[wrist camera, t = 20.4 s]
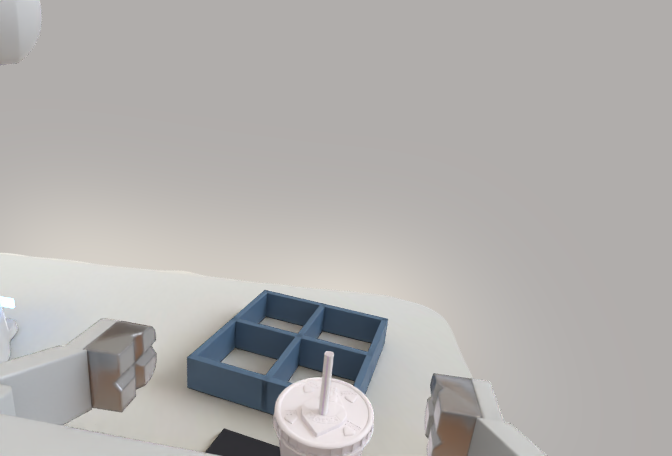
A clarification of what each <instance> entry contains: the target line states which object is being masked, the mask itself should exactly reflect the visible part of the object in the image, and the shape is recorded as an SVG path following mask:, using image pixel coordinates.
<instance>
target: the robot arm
mask: <svg viewBox="0 0 672 456" xmlns="http://www.w3.org/2000/svg"><path fill="white" fill-rule="evenodd" d="M41 25H42V11H41V5H40V0H0V65H6V64H17V63H19V62H20V61H22V60H23V59H24V58H25V57H26V56H27V55H28V54H29V53H30V52H31V50H32V49H33V48H34V46H35V44H36V42H37V40H38V37H39V34H40V30H41ZM2 307H8V308H14V307H15V303H14V299H13V298H7V297H1V296H0V456H220V455H215V454H209V453H204V452H199V451H194V450H188V449H183V448H178V447H173V446H167V445H162V444H157V443H152V442H146V441H141V440H136V439H131V438H126V437H120V436H115V435H110V434H105V433H99V432H94V431H89V430H84V429H78V428H73V427H68V426H63V425H64V424H66V423H68V422H70V421H71V420H73V419H75V418H77V417H79V416H81V415H82V414H84V413H86V412H88V411H90V410H92V408H97V409H103V410H110V411H116V412H123V410H124V409H125V408H126V407H127V406H128V405H129V404H130V402H131V401H132V400H133V399H134V398H135V397H136V389H138V388H141V387H143V386H145V385H146V384H147V383H148V381H149V380H150V379H151V377H152V375H153V372H154V370H155V367H156V361H157V357H156V352H155V350H154V349H153V347H152V346H151V345H152V344H153V343H154V342H155V341H156V333H155V329H154V328H153V327H152V326H147V325H141V324H136V323H131V322H125V321H119V320H114V319H108V318H104V319H100V320H99V321H97V322H96V323H95V324H93V325H92V326H91V327H89V328H88V329H87V330H85V331H84V332H83V333H81V334H80V335H79V336H77V337H76V338H75V339H73V340H72V341H71V342H69V343H68V344H67V345H65V346H56V347H52V348H49V349H46V350H42V351H39V352H35V353H32V354H29V355H25V356H22V357H19V358H15V359H12V360H9V358H10V354H11V349H10V340H11V339H12V338H13V336H14V335H15V334H16V332H17V330H18V327H17V324H16V321H15V320H13V319H8V318H5V315H4V311H3V308H2ZM8 360H9V361H8ZM430 388H431V397H430V398H429V399H427V405H426V411H425V436H426V437H427V438H428V444H427V456H548V455H546V454H545V453H544V452H543V451H542V450H541V449H539V448H538V447H537V446H536V445H535V444H534V443H533V442H531V441H530V440H529V439H528V438H527V437H525V436H524V435H523V434H522V433H521V432H520V431H519V430H518V429H516V428H515V427H514V426H513V425H512V424H511V423H507V422H505V421H504V419H503V416H502V413H501V410H500V407H499V404H498V402H497V399H496V396H495V393H494V391H493V388H492V385H491V383H490V382H489V381H486V380H479V379H471V378H470V379H469V378H462V377H455V376H449V375H442V374H435V373H433V376H432V380H431V384H430Z"/></svg>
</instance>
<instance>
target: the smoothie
mask: <svg viewBox="0 0 672 456" xmlns="http://www.w3.org/2000/svg"><path fill="white" fill-rule="evenodd" d="M333 357H334V353H333V352H331V351H326V352H325V353H324V363H323V373H322V377H314V378H307V379H303V380H300V381H297V382H295V383H293V384H291V385H289V386H288V387H287V388H285V389H284V390H283V391H282V392H281V394H280V395H279V397H278V398H277V401H276V404H275V412H274V416H273V425H274V430H275V432H276V434H277V436H278V438H279V444H280V455H281V456H361V453H362V450H363V448H364V447H365V446H366V445H367V443H368V442H369V441H370V439H371V436H372V433H373V421H374V411H373V407H372V405H371V403H370V401H369V399H368V398H367V397H366V396H365V395H364V393H362V392H361V391H360V390H359V389H358V388H356V387H354V386H353V385H351V384H349V383H347V382H344V381H342V380H338V379H334V378H331V376H332V367H333Z"/></svg>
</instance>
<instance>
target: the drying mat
mask: <svg viewBox="0 0 672 456" xmlns="http://www.w3.org/2000/svg"><path fill="white" fill-rule="evenodd" d="M205 453H209V454H215V455H220V456H281V455H280V447H278V446H275V445H272V444H269V443H266V442H263V441H260V440H257V439H254V438H251V437H248V436H245V435H242V434H239V433H236V432H233V431H230V430H227V429H223V430H222V432H221V433H220V434H219V435H218V437H217V438H216V439H215V441H214V442H213V443H212V444H211V446H210V447H209V448H208V450H207V451H206V452H205Z"/></svg>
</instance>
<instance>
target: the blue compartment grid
mask: <svg viewBox="0 0 672 456" xmlns="http://www.w3.org/2000/svg"><path fill="white" fill-rule="evenodd" d="M265 317H270V318H274V319H278V320H282V321H286V322H290V323H294V324H298V325H302V326H303V328H302V329H301V330H300V332H299V333H298V334H297V333H293V332H289V331H285V330H281V329H278V328H274V327H270V326H266V325H262V324H259V323H260V322H261V321H262V320H263V319H264V318H265ZM387 323H388V319H386V318H382V317H378V316H374V315H369V314H365V313H361V312H357V311H352V310H348V309H344V308H340V307H335V306H331V305H327V304H323V303H318V302H314V301H310V300H306V299H301V298H297V297H293V296H289V295H284V294H280V293H276V292H272V291H267V290H264V291H263V292H262V293H261V294H260V295H258V296H257V297H256V298H255V299H254V300H253V301H252V302H250V303H249V304H248V305H247V306H246V307H245V308H244V309H242V310H241V311H240V312H239V313H238V314H237V315H236V316H234V317H233V318H232V319H231V320H230V321H229V322H227V323H226V324H225V325H224V326H223V327H222V328H221V329H219V330H218V331H217V332H216V333H215V334H214V335H213V336H211V337H210V338H209V339H208V340H207V341H206V342H205V343H203V344H202V345H201V346H200V347H199V348H198V349H197V350H195V351H194V352H193V353H192V354H191V355H189V356H188V357H187V387H188V388H191V389H194V390H197V391H200V392H203V393H206V394H210V395H213V396H216V397H219V398H222V399H225V400H228V401H232V402H235V403H238V404H241V405H244V406H247V407H251V408H254V409H257V410H260V411H263V412H266V413H269V414H273V415H274V412H275V404H276V401H277V398H278V397H279V395H280V394H281V392H282V391H283V390H284V389H285V388H287V387H288V386H289V385H291V384H293V383H290V382H288V381H289V379H290V378H291V376H292V375H293V373H294V372H295V370H296V369H297V367H298V366H299V365H300V366H303V367H307V368H311V369H314V370H318V371H321V372H323V363H324V353H325V352H326V351H331V352H333V353H334V357H333V367H332V375H336V376H339V377H343V378H346V379H350V380H354V381H355V383H354V385H353V386H354V387H356V388H358V389H359V390H360V391H361V392H362V393H364V395H365V393H366V391H367V388H368V385H369V383H370V380H371V378H372V375H373V372H374V370H375V367H376V364H377V362H378V359H379V356H380V354H381V351H382V348H383V346H384V343H385V336H386V330H387ZM322 331H326V332H330V333H334V334H338V335H342V336H345V337H349V338H353V339H357V340H361V341H365V342H369V343H371V346H370V348H369V350H368V352H366V351H362V350H359V349H355V348H351V347H347V346H343V345H339V344H335V343H332V342H328V341H324V340H320V339H317V338H318V336H319V335H320V333H321V332H322ZM234 348H239V349H243V350H246V351H250V352H253V353H257V354H261V355H264V356H268V357H271V358H275V359H278V360H277V361H276V362H275V364H274V365H273V366H272V367H271V369H270V370H269V371H268V373H267V374H266V375H262V374H259V373H255V372H252V371H248V370H245V369H242V368H238V367H235V366H231V365H228V364H225V363H221V361H222V360H223V359H224V358H225V357H226V356H227V355H228V354H229V353H230V352H231V351H232V350H233V349H234Z"/></svg>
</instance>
